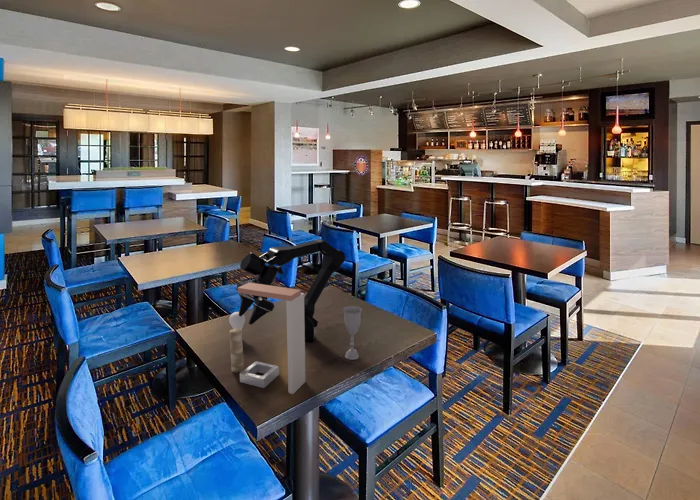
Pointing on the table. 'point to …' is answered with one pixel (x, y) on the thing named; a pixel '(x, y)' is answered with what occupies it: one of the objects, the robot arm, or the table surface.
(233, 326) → the lightbulb
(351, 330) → the chalice
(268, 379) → the socket
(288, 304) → the inverted l-shaped panel
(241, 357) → the peg
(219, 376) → the table surface
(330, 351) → the table surface
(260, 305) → the robot arm
